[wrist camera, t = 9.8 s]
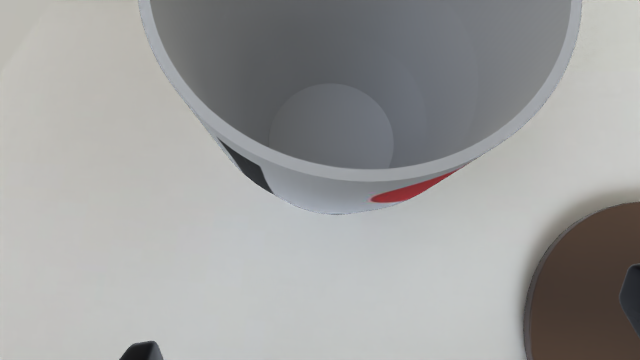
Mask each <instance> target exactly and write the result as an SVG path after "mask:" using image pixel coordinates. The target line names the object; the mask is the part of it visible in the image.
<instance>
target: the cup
mask: <svg viewBox="0 0 640 360" xmlns="http://www.w3.org/2000/svg"><path fill="white" fill-rule="evenodd" d="M138 4H139V9H140V15H141V19H142V23H143V27H144V30H145V33H146V36H147V39H148V42H149V44H150V47H151V49H152V51H153V53H154V55H155V57H156V60H157V62H158V63H159V65H160V67H161V69H162V70H163V72H164V74H165V75H166V77H167V78H168V80H169V81H170V83H171V84H172V86H173V87H174V88H175V90H176V91H177V92H178V94H179V95H180V96H181V97H182V99H183V100H184V101H185V103H186V104H187V105H188V106H189V108H190V109H191V110H192V112H193V113H194V114H195V115H196V117H197V118H198V119H199V120H200V122H201V123H202V124H203V126H204V127H205V128H206V129H207V131H208V132H209V133H210V135H211V136H212V137H213V138H214V140H215V141H216V142H217V144H218V145H219V146H220V147H221V149H222V150H223V151H224V152H225V154H226V155H227V156H228V158H229V159H230V160H231V161H232V162H233V163H234V164H235V166H236V167H237V168H238V169H239V170H240V171H242V172H243V173H244V174H245V175H246V176H247V177H248V178H250V179H251V180H252V181H253V182H255V183H256V184H258V185H259V186H261V187H262V188H264V189H265V190H267V191H269V192H270V193H272V194H274V195H276V196H278V197H279V198H281V199H283V200H285V201H287V202H289V203H290V204H293V205H295V206H297V207H299V208H302V209H305V210H308V211H312V212H317V213H323V214H351V213H358V212H364V211H371V210H376V209H381V208H385V207H389V206H392V205H395V204H398V203H401V202H403V201H406V200H408V199H410V198H412V197H414V196H416V195H418V194H420V193H422V192H423V191H425V190H427V189H428V188H430V187H432V186H433V185H435V184H436V183H438V182H440V181H441V180H443V179H444V178H446V177H448V176H449V175H451V174H452V173H454V172H456V171H457V170H459V169H461V168H462V167H464V166H465V165H467V164H469V163H470V162H472V161H473V160H475V159H477V158H478V157H480V156H481V155H483V154H485V153H486V152H488V151H489V150H491V149H493V148H494V147H496V146H497V145H499V144H500V143H502V142H503V141H505V140H506V139H507V138H509V137H510V136H511V135H513V134H514V133H515V132H516V131H518V130H519V129H520V128H521V127H522V126H523V125H525V124H526V123H527V122H528V121H529V120H530V119H531V118H532V117H533V116H534V115H535V114H536V113H537V111H538V110H539V109H540V108H541V107H542V106H543V104H544V103H545V102H546V101H547V99H548V98H549V97H550V95H551V94H552V92H553V91H554V89H555V88H556V86H557V84H558V83H559V81H560V79H561V78H562V76H563V74H564V72H565V70H566V68H567V65H568V63H569V61H570V58H571V56H572V53H573V50H574V47H575V44H576V40H577V36H578V32H579V26H580V20H581V10H582V0H138Z"/></svg>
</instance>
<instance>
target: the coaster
mask: <svg viewBox="0 0 640 360" xmlns="http://www.w3.org/2000/svg"><path fill="white" fill-rule="evenodd" d="M639 263H640V202H633V203H625V204H620V205H616V206H613V207H609V208H605V209H602V210H599V211H597V212H595V213H592V214H590V215H587V216H586V217H584V218H582V219H581V220H579V221H577V222H576V223H574V224H573V225H571V226H570V227H569V228H568V229H567V230H565V231H564V232H563V233H562V234H561V235H560V236H559V237H558V238H557V239H556V240H555V241H554V242H553V243H552V245H551V246H550V247H549V248H548V250H547V251H546V253H545V254H544V256H543V257H542V259H541V260H540V262H539V265H538V267H537V269H536V271H535V273H534V275H533V278H532V281H531V284H530V287H529V291H528V294H527V300H526V306H525V314H524V338H525V349H526V354H527V359H528V360H640V338H639V337H638V335H637V333H636V332H635V330H634V328H633V326H632V325H631V323H630V321H629V320H628V318H627V316H626V314H625V313H624V311H623V309H622V307H621V305H620V301H619V294H620V291H621V288H622V285H623V282H624V279H625V276H626V273H627V270H628V268H629V267H630V266H631V265H634V264H639Z"/></svg>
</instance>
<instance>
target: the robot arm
mask: <svg viewBox="0 0 640 360" xmlns="http://www.w3.org/2000/svg"><path fill="white" fill-rule="evenodd" d="M619 301H620V305H621V307H622V309H623V311H624V313H625V314H626V316H627V318H628V320H629V321H630V323H631V325H632V326H633V328H634V330H635V332H636V333H637V335H638V337H639V338H640V263H639V264H634V265H631V266H630V267H629V268H628V270H627V273H626V276H625V279H624V282H623V285H622V288H621V291H620V294H619ZM119 360H163V357H162V354H161V352H160V349H159V347H158V345H157V343H156V342H155V341H147V342H141V343H135V344H132V345H131V346H130V347H129V348H128V349H127V350H126V352H125V353H124V354H123V355H122V357H121V358H120V359H119Z"/></svg>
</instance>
